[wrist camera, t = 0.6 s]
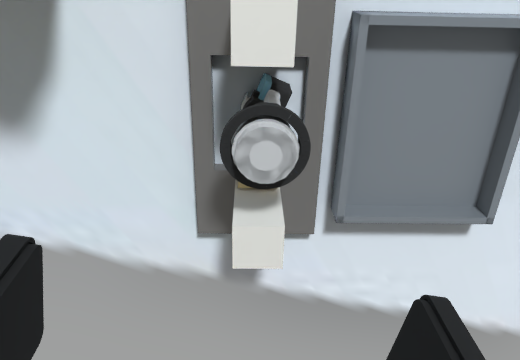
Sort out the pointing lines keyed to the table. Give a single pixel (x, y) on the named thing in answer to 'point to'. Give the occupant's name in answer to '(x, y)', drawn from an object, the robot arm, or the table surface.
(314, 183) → the block
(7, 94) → the table surface
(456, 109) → the tray
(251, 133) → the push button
